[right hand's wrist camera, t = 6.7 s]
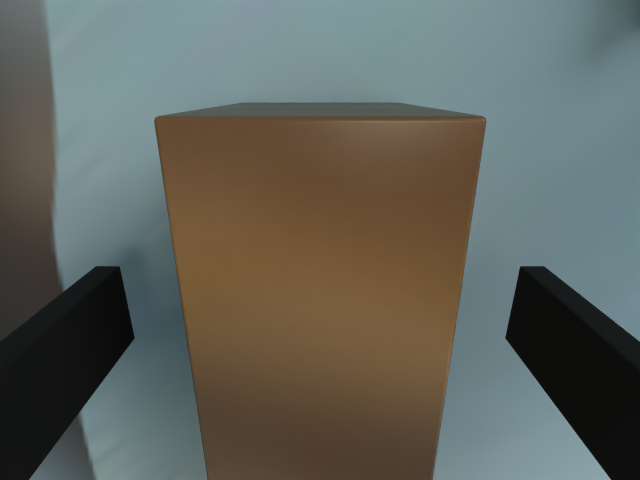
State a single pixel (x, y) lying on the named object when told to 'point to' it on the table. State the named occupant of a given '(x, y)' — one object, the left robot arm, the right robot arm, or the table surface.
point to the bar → (320, 280)
